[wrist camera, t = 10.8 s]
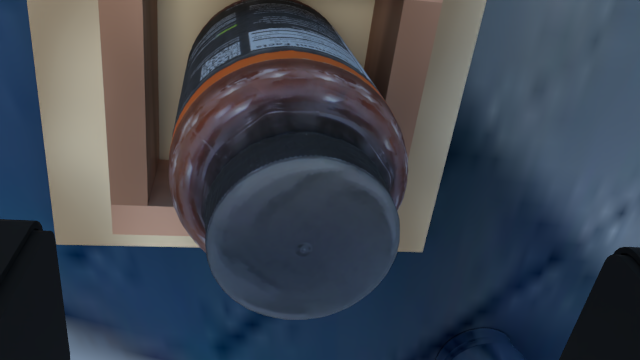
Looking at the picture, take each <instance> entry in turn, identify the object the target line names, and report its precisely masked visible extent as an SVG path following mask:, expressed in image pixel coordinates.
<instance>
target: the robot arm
mask: <svg viewBox="0 0 640 360" xmlns="http://www.w3.org/2000/svg"><path fill="white" fill-rule="evenodd" d="M0 360H70V351H69V343H68V335H67V328H66V320H65V312H64V304H63V297H62V289H61V281H60V273H59V266H58V258H57V250H56V242H55V237H54V234H53V232H52V231H43V229H42V226H41V224H40V222H38V221H28V220H5V219H0ZM559 360H640V248H639V247H622V248H619V249H618V250H616V251H615V252H614V254H613V255H610V256H609V257H607V259H606V260H605V262H604V264H603V266H602V269H601V271H600V273H599V275H598V277H597V279H596V281H595V284H594V286H593V288H592V290H591V292H590V294H589V297H588V299H587V301H586V303H585V305H584V307H583V309H582V312H581V314H580V316H579V318H578V320H577V322H576V324H575V327H574V329H573V331H572V333H571V335H570V337H569V340H568V342H567V344H566V346H565V348H564V350H563V352H562V355H561V357H560V359H559Z"/></svg>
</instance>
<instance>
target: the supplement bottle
mask: <svg viewBox="0 0 640 360" xmlns="http://www.w3.org/2000/svg"><path fill="white" fill-rule="evenodd" d="M407 176H408V157H407V152H406V147H405V141H404V138H403V134H402V132H401V129H400V127H399V125H398V123H397V120H396V118H395V116H394V114H393V113H392V111H391V109H390V108H389V106H388V105H387V103H386V102H385V100H384V99H383V97H382V96H381V94H380V92H379V91H378V89H377V88H376V87H375V85H374V84H373V82H372V81H371V80H370V78H369V77H368V75H367V74H366V72H365V71H364V69H363V68H362V67H361V65H360V64H359V62H358V61H357V59H356V58H355V57H354V55H353V54H352V52H351V51H350V49H349V48H348V47H347V45H346V44H345V42H344V41H343V39H342V38H341V36H340V35H339V34H338V32H337V31H336V30H335V29H334V27H333V26H332V25H331V24H330V23H329V22H328V21H327V19H326V18H325V17H323V16H322V15H321V14H320V13H319V12H317V11H316V10H315V9H313V8H312V7H310V6H308V5H306V4H304V3H302V2H300V1H297V0H240V1H237V2H234V3H232V4H231V5H229V6H226V7H225V8H224V9H222V10H221V11H219V12H218V13H217V14H215V15H214V16H213V17H212V18H211V19H210V20H209V21H208V22H207V24H206V25H205V26H204V27H203V28H202V29H201V31H200V33H199V34H198V36H197V38H196V39H195V41H194V44H193V46H192V49H191V51H190V53H189V56H188V61H187V66H186V70H185V75H184V80H183V85H182V90H181V95H180V99H179V104H178V110H177V115H176V121H175V125H174V129H173V134H172V142H171V146H170V152H169V187H170V194H171V198H172V202H173V206H174V208H175V211H176V213H177V215H178V217H179V220H180V222H181V224H182V225H183V227H184V228H185V230H186V231H187V233H188V234H189V235H190V237H191V238H192V239H193V240H194V242H195V243H196V244H197V245H198V246H199V247H200V248H201V249H202V250H203V251H204V252H206V255H207V260H208V263H209V266H210V270H211V272H212V274H213V276H214V278H215V279H216V281H217V283H218V284H219V285H220V286H221V288H222V289H223V290H224V292H226V293H227V294H228V295H229V296H230V297H231V298H232V299H233V300H235V301H236V302H237V303H239V304H241V305H242V306H244V307H246V308H247V309H249V310H251V311H255V312H257V313H259V314H263V315H266V316H271V317H273V318H281V319H286V320H302V319H310V318H320V317H324V316H327V315H331V314H333V313H336V312H339V311H341V310H343V309H346V308H348V307H350V306H352V305H353V304H355V303H356V302H358V301H360V300H361V299H362V298H364V297H365V296H366V295H368V294H369V293H370V292H371V291H372V290H373V289H374V288H375V287H377V286H378V285H379V283H380V282H381V280H382V279H383V278H384V277H385V276H386V274H387V273H388V271H389V269H390V267H391V265H392V263H393V262H394V259H395V257H396V255H397V251H398V247H399V243H400V219H399V215H398V209H399V207H400V205H401V203H402V200H403V199H404V194H405V190H406V186H407Z"/></svg>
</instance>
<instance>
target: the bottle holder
mask: <svg viewBox="0 0 640 360" xmlns="http://www.w3.org/2000/svg"><path fill="white" fill-rule="evenodd" d="M237 1H240V0H27V5H28V13H29V22H30V30H31V38H32V47H33V55H34V63H35V71H36V80H37V88H38V96H39V105H40V113H41V121H42V129H43V138H44V146H45V154H46V162H47V171H48V179H49V187H50V196H51V204H52V212H53V220H54V229H55V237H56V244H60V245H107V246H155V247H199V246H198V245H197V244H196V243H195V242H194V240H193V239H192V238H191V237H190V235H189V234H188V233H187V231H186V230H185V228H184V227H183V225H182V224H181V222H180V220H179V217H178V215H177V213H176V211H175V208H174V206H173V202H172V198H171V194H170V187H169V152H170V146H171V142H172V134H173V129H174V125H175V121H176V115H177V110H178V104H179V99H180V95H181V90H182V85H183V80H184V75H185V70H186V66H187V61H188V56H189V53H190V51H191V49H192V46H193V44H194V41H195V39H196V38H197V36H198V34H199V33H200V31H201V29H202V28H203V27H204V26H205V25H206V24H207V22H208V21H209V20H210V19H211V18H212V17H213V16H214V15H215V14H217V13H218V12H219V11H221V10H222V9H224V8H225V7H226V6H229V5H231V4H232V3H234V2H237ZM297 1H300V2H302V3H304V4H306V5H308V6H310V7H312V8H313V9H315V10H316V11H317V12H319V13H320V14H321V15H322V16H323V17H325V18H326V19H327V21H328V22H329V23H330V24H331V25H332V26H333V27H334V29H335V30H336V31H337V32H338V34H339V35H340V36H341V38H342V39H343V41H344V42H345V44H346V45H347V47H348V48H349V49H350V51H351V52H352V54H353V55H354V57H355V58H356V59H357V61H358V62H359V64H360V65H361V67H362V68H363V69H364V71H365V72H366V74H367V75H368V77H369V78H370V80H371V81H372V82H373V84H374V85H375V87H376V88H377V89H378V91H379V92H380V94H381V96H382V97H383V99H384V100H385V102H386V103H387V105H388V106H389V108H390V109H391V111H392V113H393V114H394V116H395V118H396V120H397V123H398V125H399V127H400V129H401V132H402V134H403V138H404V141H405V147H406V152H407V157H408V176H407V186H406V190H405V194H404V199H403V200H402V203H401V205H400V207H399V209H398V215H399V219H400V243H399V247H398V251H397V252H423V248H424V244H425V240H426V236H427V232H428V228H429V225H430V221H431V217H432V213H433V209H434V205H435V201H436V197H437V193H438V189H439V185H440V181H441V177H442V174H443V170H444V166H445V162H446V158H447V154H448V150H449V146H450V142H451V138H452V134H453V130H454V126H455V123H456V119H457V115H458V111H459V107H460V103H461V99H462V95H463V91H464V87H465V83H466V79H467V75H468V72H469V68H470V64H471V60H472V56H473V52H474V48H475V44H476V40H477V36H478V32H479V28H480V24H481V20H482V17H483V13H484V9H485V5H486V1H487V0H297Z"/></svg>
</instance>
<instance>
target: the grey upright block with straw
mask: <svg viewBox="0 0 640 360" xmlns="http://www.w3.org/2000/svg"><path fill="white" fill-rule="evenodd" d="M436 360H526V359H525V358H524V357H523V355H522V354H521V353H520V352H519V351H518V350H517V349H516V348H515V347H513V345H512V342H511V340H510V339H509V337H508V336H507V335H505V334H504V333H503V332H501V331H498V330H495V329H491V328H480V329H473V330H469V331H466V332H464V333H461V334H459V335H457V336H456V337H454V338H452V339H451V340H450V341H449V342H447V343H446V344H445V345H444V346H443V348H442V349H441V350H440V352H439V353H438V356H437V358H436Z"/></svg>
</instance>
